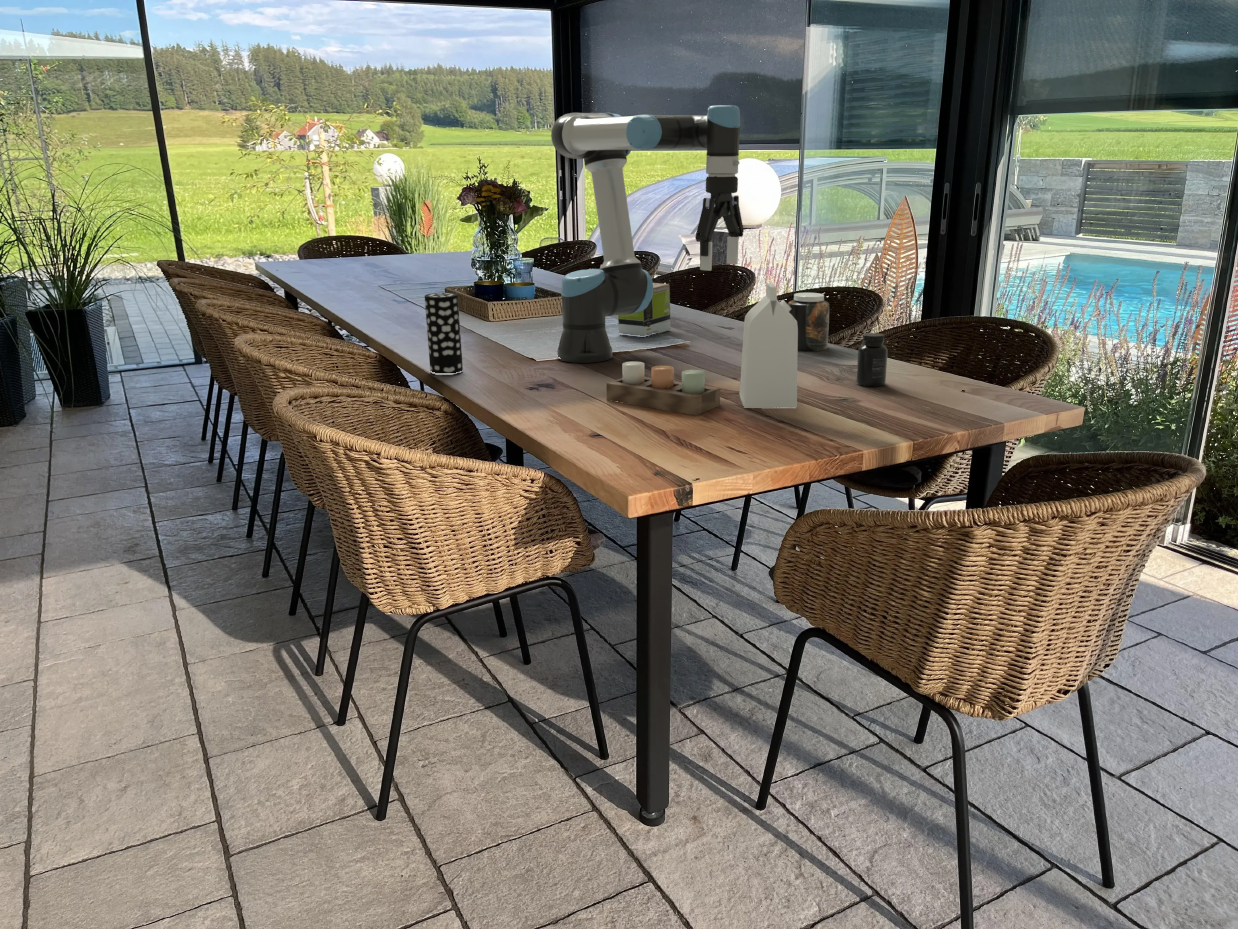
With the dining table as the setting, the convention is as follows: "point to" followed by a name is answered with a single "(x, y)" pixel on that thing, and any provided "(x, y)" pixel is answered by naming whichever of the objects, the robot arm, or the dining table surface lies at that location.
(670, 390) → the wooden compartment tray
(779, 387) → the milk
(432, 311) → the white-spotted black cylinder
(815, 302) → the jar
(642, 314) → the tea box
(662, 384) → the peach rounded cylinder
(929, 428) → the dining table surface
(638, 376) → the off-white button
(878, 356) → the supplement bottle
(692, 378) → the pale green domed cylinder
